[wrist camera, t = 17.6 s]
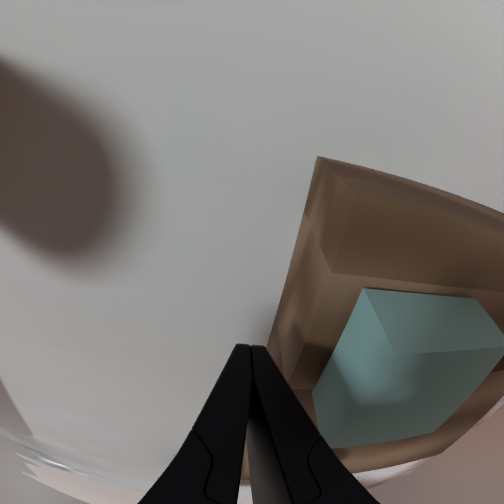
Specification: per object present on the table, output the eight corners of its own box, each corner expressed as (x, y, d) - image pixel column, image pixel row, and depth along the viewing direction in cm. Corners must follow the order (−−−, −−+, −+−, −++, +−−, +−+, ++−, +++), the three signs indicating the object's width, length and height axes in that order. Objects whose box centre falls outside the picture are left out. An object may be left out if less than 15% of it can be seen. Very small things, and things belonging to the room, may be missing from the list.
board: (426, 417, 22) (440, 453, 19) (240, 429, 21) (241, 479, 17) (548, 234, 13) (588, 267, 9) (317, 156, 11) (356, 193, 7)
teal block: (415, 387, 11) (433, 432, 9) (311, 392, 10) (321, 449, 8) (475, 298, 9) (511, 345, 6) (362, 288, 8) (394, 353, 6)
